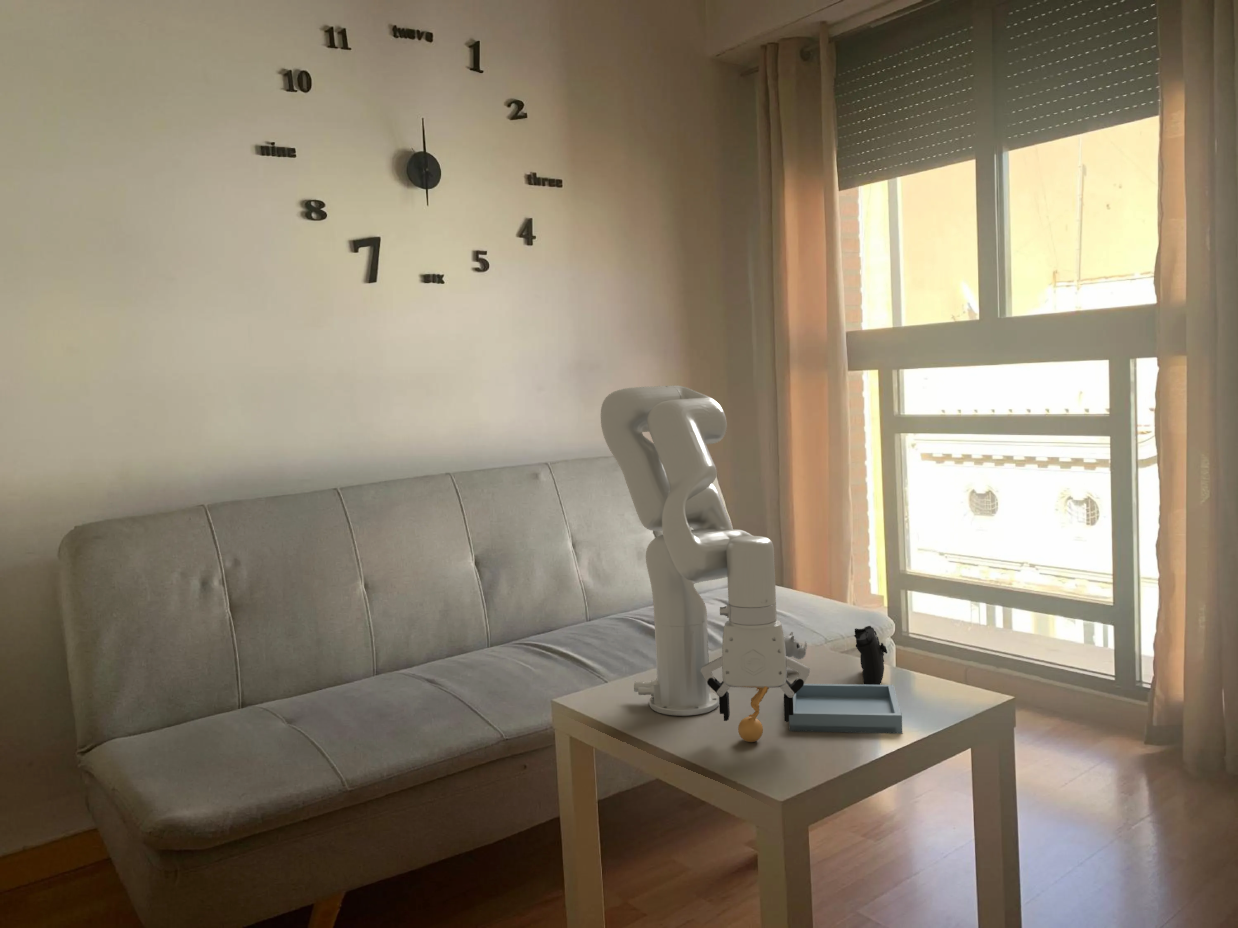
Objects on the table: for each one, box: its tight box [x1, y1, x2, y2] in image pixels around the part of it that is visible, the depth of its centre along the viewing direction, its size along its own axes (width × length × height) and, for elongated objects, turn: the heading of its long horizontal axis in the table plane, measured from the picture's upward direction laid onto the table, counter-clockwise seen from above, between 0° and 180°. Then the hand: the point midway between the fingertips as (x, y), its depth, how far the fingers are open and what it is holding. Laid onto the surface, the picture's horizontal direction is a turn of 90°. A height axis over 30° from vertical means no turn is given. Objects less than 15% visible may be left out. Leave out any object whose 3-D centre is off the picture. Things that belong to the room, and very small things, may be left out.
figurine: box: [737, 687, 770, 743], centre depth 156 cm, size 8×6×12 cm
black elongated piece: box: [853, 625, 888, 685], centre depth 184 cm, size 14×6×10 cm, turn 168°
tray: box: [788, 683, 903, 734], centre depth 166 cm, size 18×16×3 cm
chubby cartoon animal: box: [784, 631, 808, 660], centre depth 194 cm, size 7×12×8 cm, turn 84°
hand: (756, 718), depth 156 cm, fingers open, 9 cm apart
